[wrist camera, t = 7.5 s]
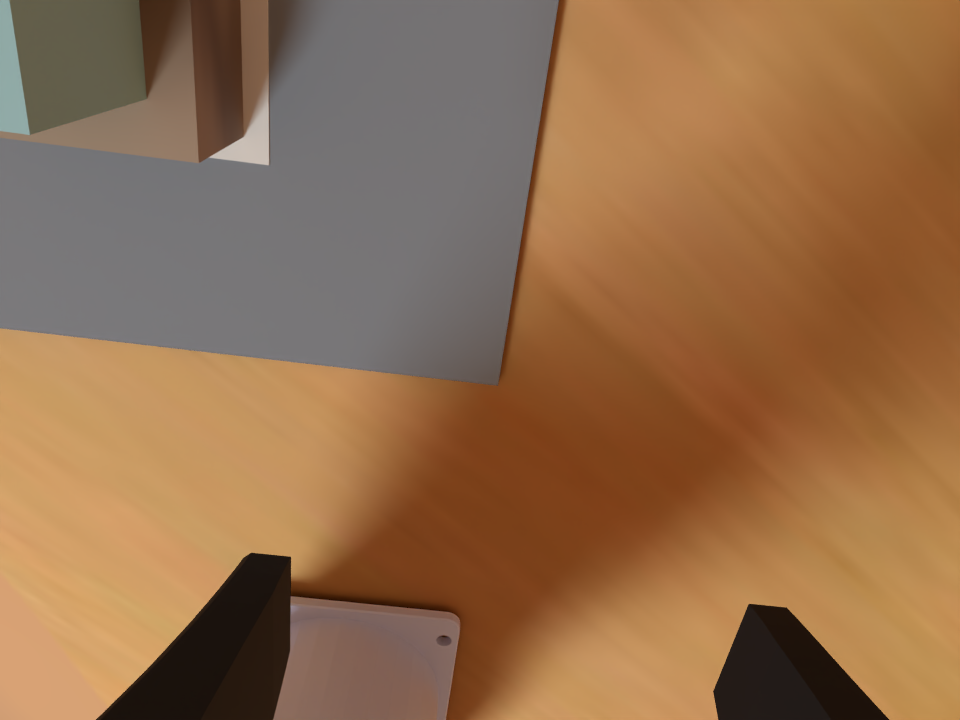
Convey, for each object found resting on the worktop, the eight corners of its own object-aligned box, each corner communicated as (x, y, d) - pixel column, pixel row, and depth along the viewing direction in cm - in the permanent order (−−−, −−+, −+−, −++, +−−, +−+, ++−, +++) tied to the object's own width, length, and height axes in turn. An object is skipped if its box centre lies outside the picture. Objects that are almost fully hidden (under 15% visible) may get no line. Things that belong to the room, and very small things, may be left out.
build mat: (498, 380, 21) (498, 386, 20) (-76, 314, 20) (-84, 319, 19) (594, -233, 14) (596, -237, 14) (-244, -365, 13) (-260, -373, 13)
